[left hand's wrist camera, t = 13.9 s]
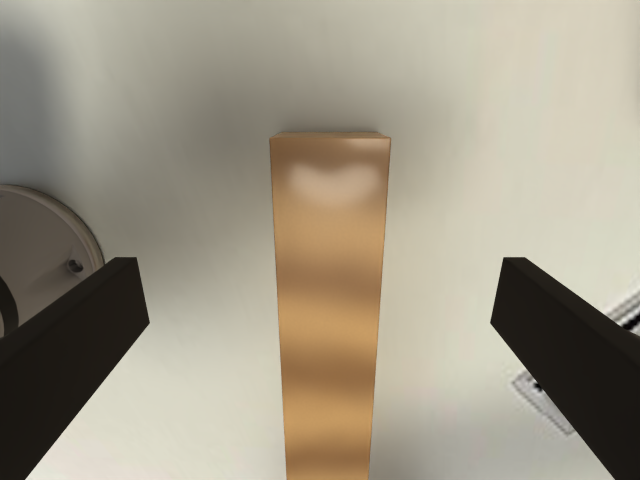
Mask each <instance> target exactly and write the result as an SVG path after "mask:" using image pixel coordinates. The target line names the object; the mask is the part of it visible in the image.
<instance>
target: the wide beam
mask: <svg viewBox="0 0 640 480" xmlns="http://www.w3.org/2000/svg"><path fill="white" fill-rule="evenodd" d="M390 147H391V138H390V137H388V136H385V135H383V134H381V133H378V132H281V133H279V134H277V135H275V136H273V137H271V138H270V158H271V178H272V198H273V218H274V237H275V257H276V277H277V297H278V317H279V336H280V356H281V376H282V396H283V415H284V435H285V455H286V475H287V480H368V475H369V460H370V445H371V430H372V415H373V400H374V385H375V370H376V356H377V341H378V326H379V311H380V296H381V281H382V266H383V251H384V236H385V221H386V206H387V191H388V176H389V161H390Z"/></svg>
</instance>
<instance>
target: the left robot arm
mask: <svg viewBox="0 0 640 480" xmlns="http://www.w3.org/2000/svg"><path fill="white" fill-rule="evenodd" d="M149 323H150V322H149V317H148V312H147V307H146V302H145V297H144V292H143V287H142V282H141V277H140V272H139V267H138V262H137V258H136V257H115V258H114V259H112V260H111V261H109V262H108V263H107V264H105V265H104V264H103V259H102V255H101V252H100V249H99V247H98V245H97V243H96V241H95V239H94V237H93V235H92V234H91V233H90V231H89V230H88V228H87V227H86V226H85V224H84V223H83V222H82V221H81V220H80V219H79V218H78V217H77V216H76V215H75V214H74V213H73V212H72V211H71V210H69V209H68V208H67V207H66V206H64V205H63V204H61V203H60V202H58V201H57V200H55V199H53V198H51V197H50V196H48V195H45V194H43V193H41V192H38V191H36V190H33V189H29V188H26V187H20V186H13V185H0V480H25V479H26V478H27V477H28V475H29V474H30V473H31V472H32V470H33V469H34V468H35V467H36V465H37V464H38V463H39V461H40V460H41V459H42V458H43V456H44V455H45V454H46V453H47V451H48V450H49V449H50V448H51V446H52V445H53V444H54V443H55V441H56V440H57V439H58V438H59V436H60V435H61V434H62V433H63V431H64V430H65V429H66V428H67V426H68V425H69V424H70V423H71V421H72V420H73V419H74V418H75V416H76V415H77V414H78V413H79V411H80V410H81V409H82V408H83V406H84V405H85V404H86V402H87V401H88V400H89V399H90V397H91V396H92V395H93V394H94V392H95V391H96V390H97V389H98V387H99V386H100V385H101V384H102V382H103V381H104V380H105V379H106V377H107V376H108V375H109V374H110V372H111V371H112V370H113V369H114V367H115V366H116V365H117V364H118V362H119V361H120V360H121V359H122V357H123V356H124V355H125V354H126V352H127V351H128V350H129V349H130V347H131V346H132V345H133V343H134V342H135V341H136V340H137V338H138V337H139V336H140V335H141V333H142V332H143V331H144V330H145V328H146V327H147V326H148V325H149ZM490 323H491V325H492V326H493V327H494V328H495V330H496V331H497V332H498V333H499V335H500V336H501V337H502V338H503V340H504V341H505V342H506V343H507V345H508V346H509V347H510V349H511V350H512V351H513V352H514V354H515V355H516V356H517V357H518V359H519V360H520V361H521V362H522V364H523V365H524V366H525V367H526V369H527V370H528V371H529V372H530V374H531V375H532V376H533V377H534V379H535V380H536V381H537V382H538V384H539V385H540V386H541V387H542V389H543V390H544V391H545V392H546V394H547V395H548V396H549V397H550V399H551V400H552V401H553V402H554V404H555V405H556V406H557V408H558V409H559V410H560V411H561V413H562V414H563V415H564V416H565V418H566V419H567V420H568V421H569V423H570V424H571V425H572V426H573V428H574V429H575V430H576V431H577V433H578V434H579V435H580V436H581V438H582V439H583V440H584V441H585V443H586V444H587V445H588V446H589V448H590V449H591V450H592V451H593V453H594V454H595V455H596V456H597V458H598V459H599V460H600V461H601V463H602V464H603V465H604V467H605V468H606V469H607V470H608V472H609V473H610V474H611V475H612V477H613V478H614V479H615V480H640V336H638V335H636V334H634V333H632V332H630V331H628V330H625V329H623V328H622V327H621V326H619V325H618V324H617V323H615V322H614V321H612V320H611V319H610V318H608V317H607V316H605V315H604V314H603V313H601V312H600V311H599V310H597V309H596V308H594V307H593V306H592V305H590V304H589V303H587V302H586V301H585V300H583V299H582V298H581V297H579V296H578V295H576V294H575V293H574V292H572V291H571V290H569V289H568V288H567V287H565V286H564V285H563V284H561V283H560V282H558V281H557V280H556V279H554V278H553V277H551V276H550V275H549V274H547V273H546V272H545V271H543V270H542V269H540V268H539V267H538V266H536V265H535V264H533V263H532V262H531V261H529V260H528V259H526V258H525V257H504V258H503V262H502V267H501V272H500V277H499V282H498V287H497V292H496V297H495V302H494V307H493V312H492V317H491V322H490Z"/></svg>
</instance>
